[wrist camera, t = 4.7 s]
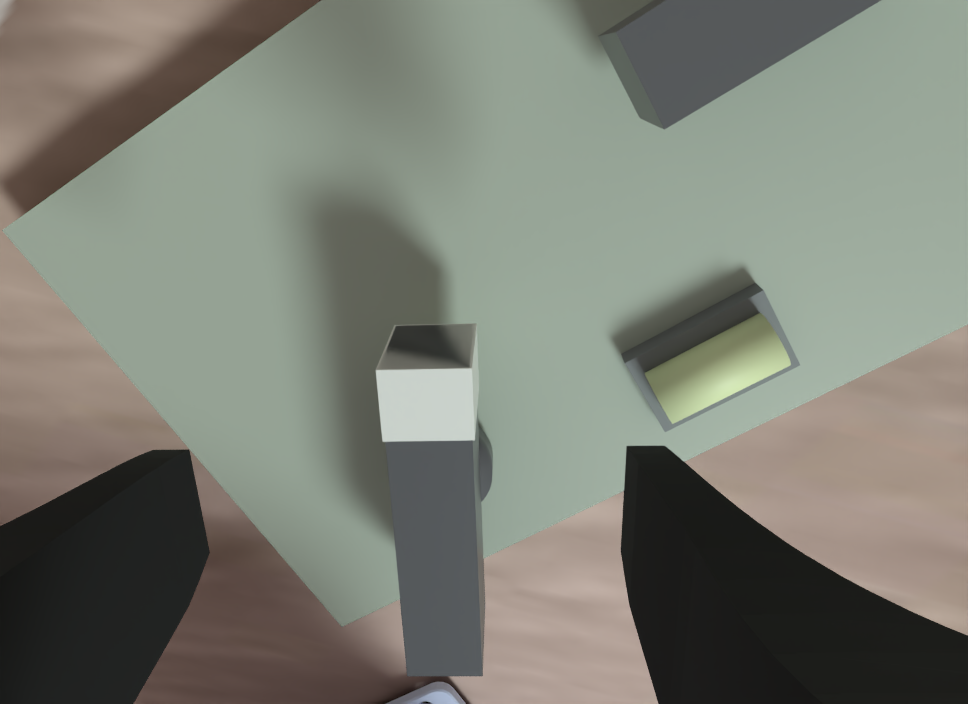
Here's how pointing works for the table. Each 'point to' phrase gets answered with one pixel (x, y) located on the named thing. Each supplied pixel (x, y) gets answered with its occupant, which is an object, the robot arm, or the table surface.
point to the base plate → (511, 252)
